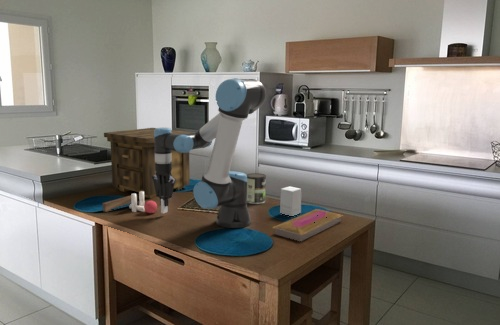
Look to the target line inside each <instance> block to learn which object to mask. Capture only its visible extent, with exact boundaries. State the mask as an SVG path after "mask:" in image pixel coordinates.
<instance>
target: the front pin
mask: <svg viewBox="0 0 500 325" xmlns="http://www.w3.org/2000/svg"><path fill="white" fill-rule="evenodd" d="M128 209H131V210H132V204H130V205H128ZM138 211H139V212H146V211H145V209H144V207H143V206H140V204H139V205H138V204H137V212H138Z"/></svg>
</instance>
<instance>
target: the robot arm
mask: <svg viewBox="0 0 500 325" xmlns="http://www.w3.org/2000/svg"><path fill="white" fill-rule="evenodd" d="M216 89H217V90H216V92H215V101H216V105H217V106H218V109H217V111H218V113H217V114H216V115H215V116H214V117H213V118H211V119H210V120H209V121H208V122H206V123H205V124H204V125H203V126H202V127H200V128H199V129H197V131H195V132H193V131H192V132H193V133H186V134H172V132H171V130H172V128H170V127H155V128H156V129H155V130H154V147H155V162H156V163H155V171H156V175H154V176H152V179H153V182H154V187H155V192H156V197H157V198H159V205H160V213H161V214H166V213H168V206H169V199H172V198H173V193H174V189H173V188H174V183H175V181H176V179H175V178H173V177H172V174H171V170H172V163H171V161H172V151H176V152H180V153H183V152H184V153H187V152H189V153H190V152H191V151H192V150H199V149H205V148H209V147H210V146H211V145H212V143H213V141H214V143H213V147H212V151H211V155H210V160H209V163H208V164H209V165H208V166H207V167H208V168H207V170H205V171H204V172H203V174H202V177H201V180H200V181H198V182H197V183H195V185H194V186H193V189H192V190H193V191H192V193H193V197H194V199H195V201H196V204H198V206H199V207H201V208H202V209H204V210H205V209H206V210H211V209H215V208H217V207H219V209H218V211H217V215H216V222H215V223H216V225H217V226H220V227H222V228H226V229H241V228H245V227H248V226H250V224H251V216H250V212H249V209H248V203H247V183H248V182H247V173H245V172H241V171H233V170H231V166H232V162H233V159H234V154H235V151H236V147H237V144H238V139H239V136H240V132H241V128H242V124H243V121H245V120H246V119H248V117H249V115H252V114H253V113H254V112H256V111H257V110H258V109H260V108H261V107H262V106H263V105H264V103H265V102H266V99H267V89H266V86H264V84H263V83H262V82H261V81H259V80H258V79H254V78H251V79H250V78H235V77H234V78H229V79H226V80H224V81H222V82H221V83H220V84H219V85H218V87H217V88H216Z"/></svg>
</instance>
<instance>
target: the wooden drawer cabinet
mask: <svg viewBox="0 0 500 325" xmlns="http://www.w3.org/2000/svg"><path fill="white" fill-rule="evenodd" d="M156 128H157V127H147V128H139V129H136V128H135V129H129V130H120V131H119V130H118V131H109V132H103V137H104V138H107V142H110V158H111V159H110V160H111V182H112V183H111V184H112V187H113V188H118V191H120V192H129V191H134V192H136V193H139V192H140V191H144V198H148V199H152V198H156V197H157V196H156V192H155V187H154V182H153V179H152V176H154V175H156V171H155V163H156V162H155V147H154V130H155V129H156ZM171 132H172V134H186V133H193V131H186V130H175V129H171ZM171 163H172V170H171V174H172V177H173V178H175V179H176V181H175V183H174V188H173V190H174V189H177V190H176V191H180V190H179V189H181V190H183V189H182V188H184V189H185V187H186V186H189V185H190V183H191V182H190V151H189V152H187V153H184V152H183V153H180V152H176V151H172V161H171Z"/></svg>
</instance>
